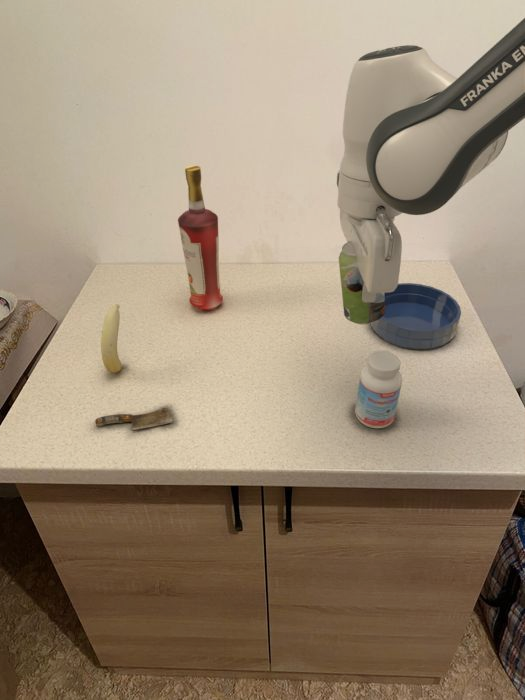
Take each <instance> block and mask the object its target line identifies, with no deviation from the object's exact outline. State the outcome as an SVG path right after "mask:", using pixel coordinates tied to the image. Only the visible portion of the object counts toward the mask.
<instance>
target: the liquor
mask: <svg viewBox="0 0 525 700" xmlns="http://www.w3.org/2000/svg"><path fill="white" fill-rule="evenodd" d="M184 173H185V180H186V183H187V186H188V187H187V191H188V195H187V196H188V210H186V211H184V212H183V213H182V214H181V215H180V216H178V218H177V223H178V230H179V234H180V241H181V247H182V252H183V256H184V261H185V262H184V263H185V267H186V273H187V278H188V284H189V285H188V286H189V293H190V297H189V300H188V301H189V304H190V305H191V306H192V307H194V308H196V309H197V310H200V311H202V312H203V311H204V312H208V311H212V310H215V309H216V308H217V307H218V306H219V305H221V303H222V302H223V300H224V297H223V295H222V293H221V282H220V281H221V280H220V279H221V277H220V241H219V236H220V235H219V216H218V215H217V213H215V212H213V210H211V209H208V208H206V207H205V201H204V195H203V190H202V170H201V166H200V165H199V166H198V165H188V166H186V167H185V168H184Z"/></svg>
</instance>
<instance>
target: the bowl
mask: <svg viewBox="0 0 525 700" xmlns="http://www.w3.org/2000/svg"><path fill="white" fill-rule="evenodd" d="M461 316H462V310H461V306H460V305H459V303H458V301H457V300H456V299H455V298H453V296H451V295H450V294H449V293H447V292H445V291H443V290H442V289H440V288H436V287H434V286H431V285H426V284H422V283H414V282H413V283H412V282H403V283H402V282H401V283H398V286H397V288H396V289H395V290H394V291H393V292H388V293H385V314H384V315H383V317H381V318H380V319H379V320H377V321H375V322H373V323H371V324H370V326H371V328H372V329H373V331H374V332H375V333H376V334H377V335H378V337H380V338H381V339H382V340H384V341H385V342H387V343H389V344H391V345H393V346H396V347H400V348H403V349H408V350H419V351H420V350H431V349H436V348H439V347H442V346H444V345H445V344H447V343H449V342H451V340H452V339H454V337H455V336H456V333H457V330H458V326H459V324H460V323H459V322H460V320H461Z"/></svg>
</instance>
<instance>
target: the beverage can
mask: <svg viewBox="0 0 525 700" xmlns="http://www.w3.org/2000/svg"><path fill="white" fill-rule="evenodd" d="M338 265H339V276H340V277H339V278H340V285H341V286H340V287H341V296H342V297H341V299H342V307H343V315H344V317H345V319H346V320H348V321H349V322H352V323H354V324H357V325H371V323H373V322H375V321H377V320H379V319H380V318H381V317H383V315H384V314H385V293H376V297H375V301H373V302H363V301H362V298H361V291H362V288H363V284H364V281H363V279H362V276H361V274H360V271H359V269H358V266H357V254H356V252H355V250H354V248H353V246H352V244H351V242H350V241H349V242H347V241H346V243H344V244H343V245H342V247H341V252H340V253H339V255H338Z"/></svg>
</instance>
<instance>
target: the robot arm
mask: <svg viewBox="0 0 525 700" xmlns="http://www.w3.org/2000/svg"><path fill="white" fill-rule="evenodd" d="M524 119H525V17H524V18H523V19H522V20H520V21H519V22H518V23H517V24H516V25H515V26H514V27H513V28H511V29H510V30H509V32H507V33H506V34H505V35H504V36H503V37H502V38H500V40H498V41H497V42H496V43H495V44H494V45H493V46H492V47H491V48H489V50H487V51H486V52H485V53H484V54H482V56H481V57H480V58H478V60H476V61H475V62H474V63H473V64H472V65H471V66H470V67H468V69H466V70H465V71H464V72H463V73H462V74H461V75H459V77H456V76H455V75H453V74H451V73H450V72H448V71H447V70H445V69H444V68H442V67H441V66H440V65H438V64H437V63H436V62H435V61H434V60H433V59H432V58H431V56H430V55H429V54H428V52H427V50H426V49H424V48H423V47H421V46H419V45H415V44H414V45H409V44H407V45H399V46H393V47H387V48H384V49H378V50H375V51H371V52H368V53H365V54H363V55H362V56H361V57H359V59H357V60H356V61H355V63H354V65H353V67H352V69H351V72H350V76H349V80H348V84H347V89H346V94H345V103H344V110H343V120H342V139H343V144H344V148H343V149H344V151H343V156H342V159H341V161H340V164H339V170H337V171H336V172H337V173H336V187H337V201H336V203H337V208H338V209H339V221H340V228H341V231H342V233H343V235H344V238H345V240H346V243H347V242H349V241H350V242H351V244H352V246H353V248H354V250H355V252H356V254H357V266H358V269H359V271H360V274H361V276H362V279H363V281H364V284H363V288H362V291H361V298H362V301H363V302H373V301H375V297H376V293H388V292H393V291H394V290H395V289H396V288H397V286H398V284H399V279H400V272H401V264H402V263H401V262H402V251H403V250H402V249H403V243H402V235H401V233H400V231H399V229H398V227H397V225H396V224H395V223H394V221H395V217H398V216H400V215H402V214H405V215H409V216H410V215H412V216H423V215H428V214H431V213H433V212H436V211H437V210H440V209H441V208H442V207H444V206H445V205H446V204H447V203H448V202H450V200H451V199H452V198H453V197H454V196H455V195H456V194H457V193H458V191H459V190H461V189H462V188H463V187H465V185H467V184H468V183H469V182H470V181H472V180H473V179H474V178H475V177H476V176H478V175H479V174H480V173H481V172H482V171H484V170H485V169H486V168H487V167H488V166H489V165H491V163H493V162H494V161H495V160H496V159H497V158H498V157H499V155H500V154H501V152H502V151H503V149H504V147H505V145H506V142H507V139H508V137H509V136H508V135H509V131H510V130H512V128H514V127H515V126H517V125H518V124H519V123H521V122H522V121H523V120H524Z"/></svg>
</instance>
